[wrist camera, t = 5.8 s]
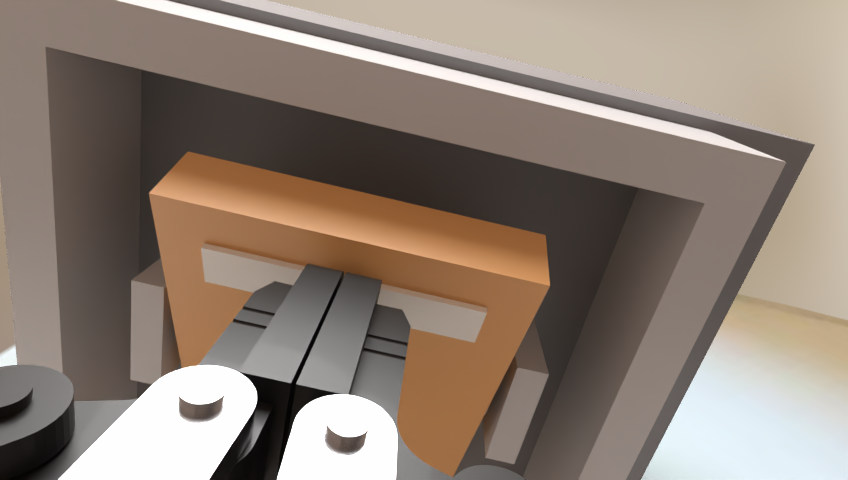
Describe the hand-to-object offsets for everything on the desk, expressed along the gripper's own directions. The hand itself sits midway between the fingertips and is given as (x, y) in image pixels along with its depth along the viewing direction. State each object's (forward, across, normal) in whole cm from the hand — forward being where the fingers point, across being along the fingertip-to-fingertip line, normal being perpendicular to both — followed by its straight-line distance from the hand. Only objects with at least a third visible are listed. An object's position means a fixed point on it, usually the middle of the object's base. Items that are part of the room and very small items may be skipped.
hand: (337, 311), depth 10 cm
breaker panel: (+8, 0, +13) cm, 16 cm away
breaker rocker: (+4, 0, +8) cm, 9 cm away
